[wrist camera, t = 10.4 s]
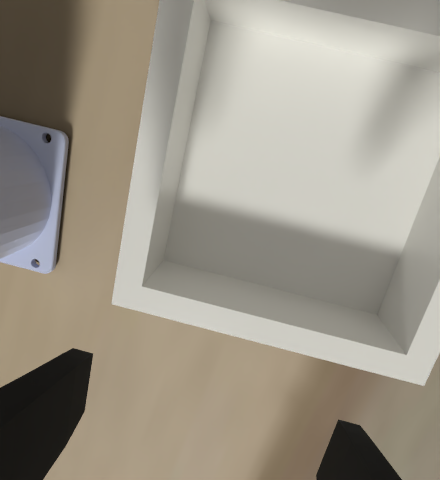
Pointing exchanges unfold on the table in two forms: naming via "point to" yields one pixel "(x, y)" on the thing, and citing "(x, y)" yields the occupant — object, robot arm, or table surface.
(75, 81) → the table surface
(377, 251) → the white square dish
